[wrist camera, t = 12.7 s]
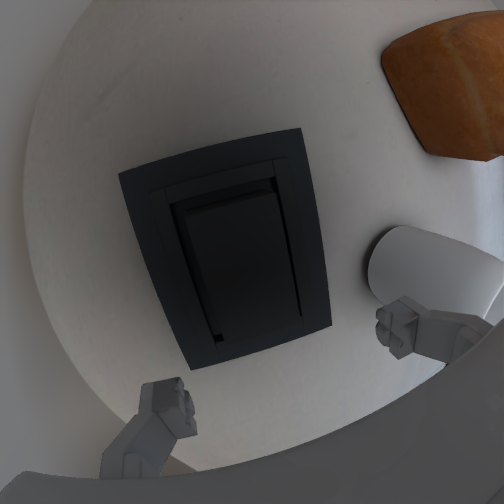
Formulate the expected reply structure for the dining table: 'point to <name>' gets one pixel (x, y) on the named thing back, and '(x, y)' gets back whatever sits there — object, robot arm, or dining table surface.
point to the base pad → (182, 251)
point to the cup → (437, 274)
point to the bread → (453, 84)
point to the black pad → (245, 264)
